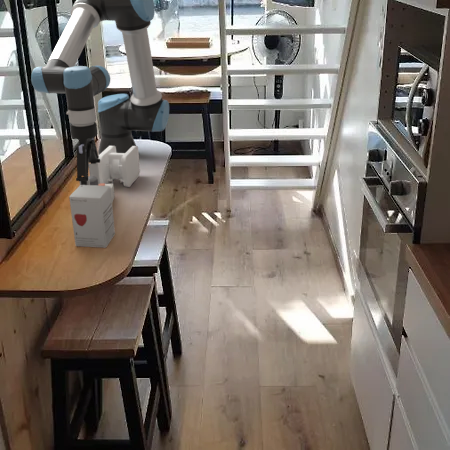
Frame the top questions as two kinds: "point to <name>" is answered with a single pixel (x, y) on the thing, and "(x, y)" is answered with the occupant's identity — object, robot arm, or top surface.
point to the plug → (93, 180)
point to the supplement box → (92, 215)
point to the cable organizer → (119, 165)
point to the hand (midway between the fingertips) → (91, 192)
